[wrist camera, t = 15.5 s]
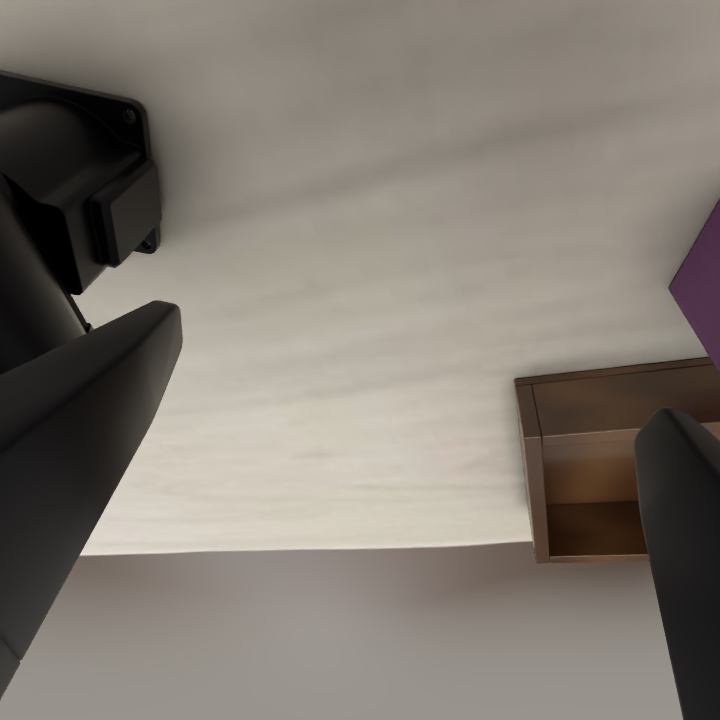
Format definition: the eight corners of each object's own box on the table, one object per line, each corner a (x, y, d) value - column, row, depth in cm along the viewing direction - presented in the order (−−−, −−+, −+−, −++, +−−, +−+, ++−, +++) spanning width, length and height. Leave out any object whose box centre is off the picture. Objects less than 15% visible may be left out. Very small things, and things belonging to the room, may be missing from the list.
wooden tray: (527, 506, 33) (536, 564, 30) (514, 378, 26) (523, 437, 23) (767, 494, 30) (804, 558, 27) (826, 344, 23) (885, 408, 20)
